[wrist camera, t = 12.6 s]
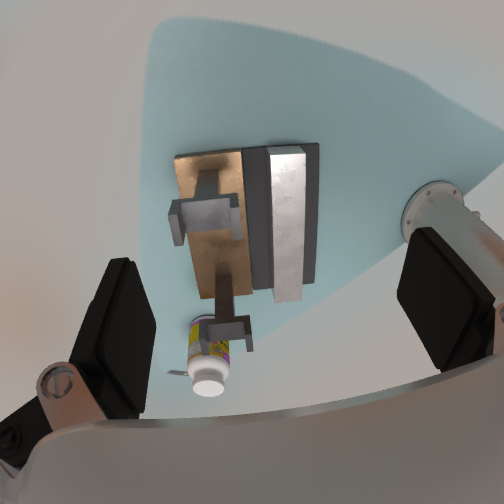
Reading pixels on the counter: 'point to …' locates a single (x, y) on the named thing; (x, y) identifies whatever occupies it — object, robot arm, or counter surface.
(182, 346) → the counter surface
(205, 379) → the supplement bottle
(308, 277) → the mat
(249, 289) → the rail stand
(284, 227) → the rail
